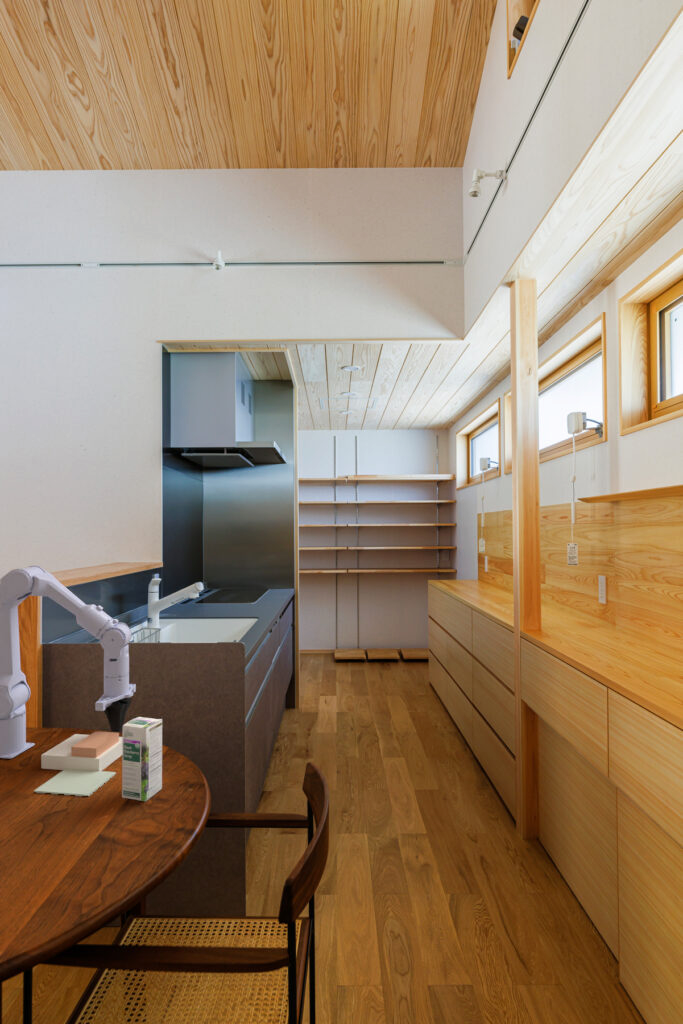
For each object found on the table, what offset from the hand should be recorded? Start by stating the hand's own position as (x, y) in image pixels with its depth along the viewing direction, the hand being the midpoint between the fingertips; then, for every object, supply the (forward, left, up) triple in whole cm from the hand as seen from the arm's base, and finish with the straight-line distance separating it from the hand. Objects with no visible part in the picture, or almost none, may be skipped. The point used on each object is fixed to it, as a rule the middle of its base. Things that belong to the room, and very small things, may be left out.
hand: (116, 730), depth 136 cm
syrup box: (+18, -20, -4) cm, 28 cm away
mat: (+2, -18, -4) cm, 19 cm away
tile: (0, -8, -1) cm, 9 cm away
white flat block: (-3, -7, -4) cm, 9 cm away
